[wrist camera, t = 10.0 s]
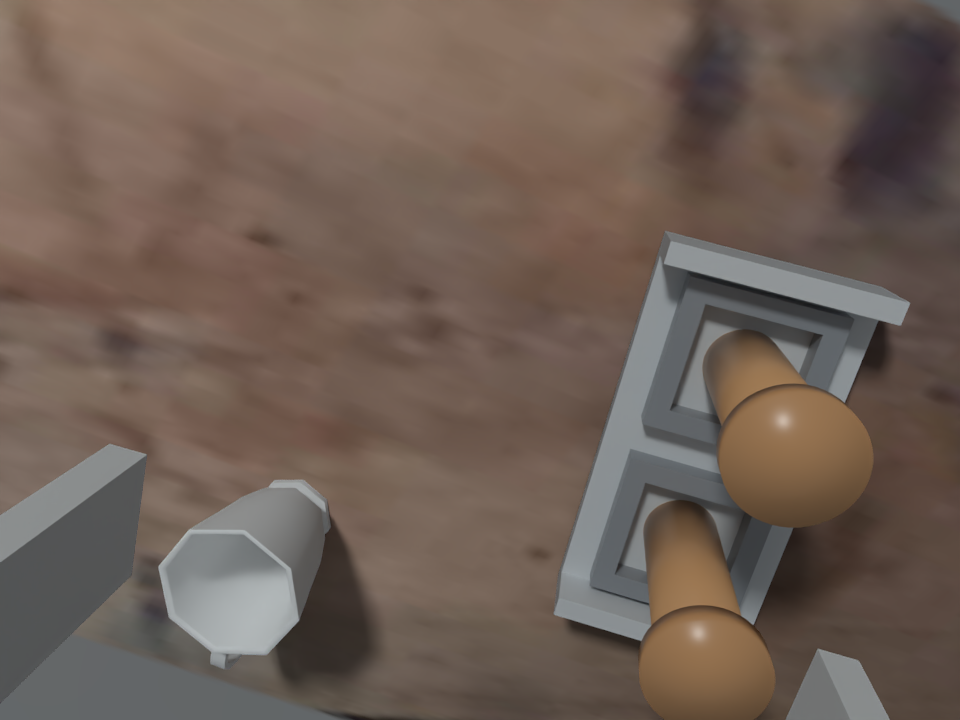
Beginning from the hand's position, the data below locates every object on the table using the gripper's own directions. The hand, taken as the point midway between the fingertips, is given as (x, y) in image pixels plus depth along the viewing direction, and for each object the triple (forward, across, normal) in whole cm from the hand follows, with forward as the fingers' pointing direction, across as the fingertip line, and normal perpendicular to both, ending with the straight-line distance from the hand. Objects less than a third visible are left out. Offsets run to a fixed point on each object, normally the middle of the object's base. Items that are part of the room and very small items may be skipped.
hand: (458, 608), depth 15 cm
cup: (+25, -10, -16) cm, 32 cm away
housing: (+24, +10, -4) cm, 27 cm away
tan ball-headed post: (+23, +10, +1) cm, 25 cm away
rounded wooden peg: (+23, +10, -8) cm, 27 cm away
